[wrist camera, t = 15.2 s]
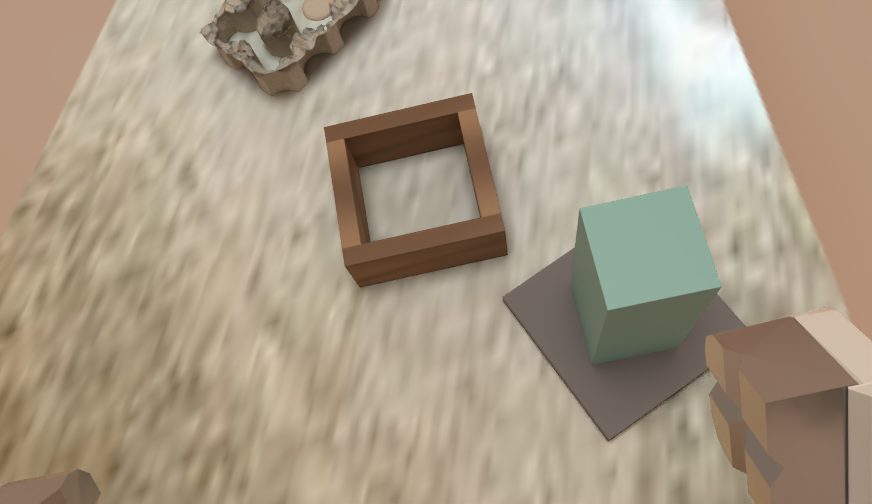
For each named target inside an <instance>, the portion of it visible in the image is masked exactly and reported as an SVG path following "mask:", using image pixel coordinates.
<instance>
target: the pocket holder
mask: <svg viewBox="0 0 872 504" xmlns="http://www.w3.org/2000/svg"><path fill="white" fill-rule="evenodd" d="M324 130H325V137H326V144H327V150H328V157H329V164H330V170H331V177H332V184H333V190H334V197H335V204H336V210H337V217H338V224H339V230H340V237H341V244H342V250H343V257H344V264H345V267H346V269H347V270H348V271H349V273H350V274H351V275H352V277H353V278H354V280H355V281H356V282H357V284H358V285H359V287H363V286H368V285H372V284H377V283H381V282H386V281H390V280H395V279H399V278H404V277H409V276H413V275H418V274H422V273H427V272H431V271H436V270H440V269H445V268H449V267H454V266H459V265H463V264H468V263H472V262H477V261H481V260H486V259H490V258H495V257H499V256H504V255H508V253H507V244H506V235H505V229H504V225H503V220H502V216H501V212H500V208H499V204H498V200H497V195H496V191H495V187H494V183H493V179H492V175H491V170H490V166H489V162H488V158H487V154H486V149H485V145H484V141H483V137H482V133H481V129H480V124H479V120H478V116H477V112H476V108H475V104H474V99H473V95H472V93H470V94H466V95H461V96H457V97H453V98H448V99H444V100H440V101H435V102H431V103H427V104H422V105H418V106H414V107H410V108H405V109H401V110H397V111H392V112H388V113H384V114H379V115H375V116H371V117H366V118H362V119H358V120H354V121H349V122H345V123H341V124H336V125H332V126H328V127H324ZM459 144H464V147H465V151H466V156H467V160H468V165H469V169H470V173H471V178H472V182H473V186H474V191H475V195H476V200H477V204H478V208H479V213H480V217H481V218H477V219H472V220H468V221H463V222H459V223H454V224H450V225H445V226H441V227H437V228H432V229H428V230H423V231H419V232H414V233H410V234H405V235H401V236H396V237H392V238H387V239H383V240H378V241H374V242H370V236H369V230H368V224H367V218H366V212H365V206H364V200H363V194H362V188H361V182H360V176H359V170H358V168H359V167H363V166H368V165H372V164H376V163H381V162H385V161H390V160H394V159H398V158H403V157H407V156H411V155H416V154H420V153H425V152H429V151H433V150H438V149H442V148H446V147H451V146H455V145H459Z"/></svg>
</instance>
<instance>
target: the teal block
mask: <svg viewBox="0 0 872 504" xmlns="http://www.w3.org/2000/svg"><path fill="white" fill-rule="evenodd" d="M721 287H722V286H721V283H720V280H719V277H718V274H717V271H716V268H715V265H714V262H713V260H712V257H711V254H710V251H709V248H708V245H707V242H706V239H705V236H704V233H703V230H702V227H701V224H700V221H699V218H698V215H697V212H696V209H695V207H694V204H693V201H692V198H691V195H690V192H689V189H688V186H687V185H686V186H681V187H677V188H672V189H667V190H663V191H658V192H654V193H649V194H644V195H640V196H635V197H630V198H626V199H621V200H617V201H612V202H607V203H603V204H598V205H593V206H589V207H584V208H580V210H579V218H578V226H577V235H576V243H575V251H574V260H573V268H572V277H571V289H572V293H573V297H574V300H575V304H576V308H577V312H578V316H579V320H580V323H581V327H582V331H583V335H584V339H585V343H586V347H587V350H588V354H589V358H590V362H591V365H596V364H601V363H606V362H611V361H616V360H621V359H626V358H631V357H635V356H640V355H645V354H650V353H655V352H660V351H665V350H670V349H674V348H678V347H679V345H680V344H681V342H682V341H683V340H684V338H685V337H686V335H687V334H688V333H689V331H690V330H691V329H692V327H693V326H694V324H695V323H696V322H697V320H698V319H699V317H700V316H701V315H702V313H703V312H704V310H705V309H706V308H707V306H708V305H709V304H710V302H711V301H712V299H713V298H714V297H715V295H716V294H717V292H718V291H719V290H720V288H721Z"/></svg>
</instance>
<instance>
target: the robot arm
mask: <svg viewBox="0 0 872 504" xmlns="http://www.w3.org/2000/svg"><path fill="white" fill-rule="evenodd" d="M705 354H706V365H707V366H708V368H709V369H710V371H711V372H712V374H713V375H714V377H715V378H716V380H717V383H716V384H715V386H714V387H713V389H712V391H711V392H710V394H709V397H710V405H711V412H712V418H713V422H714V426H715V429H716V433H717V437H718V439H719V442H720V444H721V446H722V448H723V451H724V453H725V455H726V456H727V458H728V460H729V461H730V463H731V465H732V467H734V468H736V469H738V470H740V471H742V472H744V473H746V474H747V485H748V493H749V495H750V496H751V498H752V499H753V501H754V503H755V504H872V341H871V340H869V338H867V337H866V336H865V335H864V334H863V333H861V331H859V330H858V329H857V328H856V327H855V326H854V325H852V324H851V323H850V322H849V321H848V320H847V319H846V318H844V317H843V316H842V315H841V314H840V313H839V312H838V311H836V310H835V309H832V308H829V307H823V308H819V309H815V310H811V311H807V312H803V313H799V314H795V315H791V316H787V317H786V318H781V319H777V320H773V321H769V322H764V323H760V324H756V325H752V326H747V327H743V328H739V329H735V330H730V331H726V332H722V333H718V334H713V335H709V336H706V343H705ZM100 494H101V492H100V491H99V489H98V487H97V485H96V484H95V482H94V480H93V478H92V477H91V475H90V473H87V472H85V471H82V470H79V469H76V470H71V471H65V472H60V473H55V474H50V475H45V476H39V477H34V478H29V479H24V480H18V481H13V482H8V483H6V484H0V504H98V501H99V497H100Z"/></svg>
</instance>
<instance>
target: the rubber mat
mask: <svg viewBox="0 0 872 504" xmlns="http://www.w3.org/2000/svg"><path fill="white" fill-rule="evenodd" d="M574 251H575V248H573V249H572V250H570V251H569V252H568V253H566V254H565V255H563V256H562V257H560V258H559V259H557V260H556V261H554V262H553V263H551V264H550V265H549V266H547V267H546V268H544V269H543V270H541V271H540V272H538V273H537V274H535V275H534V276H533V277H531V278H530V279H528V280H527V281H525V282H524V283H522V284H521V285H519V286H518V287H516V288H515V289H514V290H512V291H511V292H509V293H508V294H506V295H505V296H503V301H504V302H505V304H506V305H507V306H508V308H509V309H510V310H511V312H512V313H513V314H514V316H515V317H516V318H517V320H518V321H519V322H520V324H521V325H522V326H523V328H524V329H525V330H526V332H527V333H528V334H529V336H530V337H531V338H532V340H533V341H534V342H535V344H536V345H537V346H538V348H539V349H540V350H541V352H542V353H543V354H544V356H545V357H546V358H547V360H548V361H549V362H550V364H551V365H552V366H553V368H554V369H555V370H556V372H557V373H558V375H559V376H560V377H561V379H562V380H563V381H564V383H565V384H566V385H567V387H568V388H569V389H570V391H571V392H572V393H573V395H574V396H575V397H576V399H577V400H578V401H579V403H580V404H581V405H582V407H583V408H584V409H585V411H586V412H587V413H588V415H589V416H590V417H591V419H592V420H593V421H594V423H595V424H596V425H597V427H598V428H599V429H600V431H601V432H602V433H603V435H604V436H605V437H606V439H607V440H608V441H609V440H611V439H612V438H613V437H615V436H616V435H618V434H619V433H620V432H622V431H623V430H625V429H626V428H627V427H629V426H630V425H631V424H633V423H634V422H636V421H637V420H638V419H640V418H641V417H643V416H644V415H645V414H647V413H648V412H650V411H651V410H652V409H654V408H655V407H656V406H658V405H659V404H661V403H662V402H663V401H665V400H666V399H668V398H669V397H670V396H672V395H673V394H675V393H676V392H677V391H679V390H680V389H681V388H683V387H684V386H686V385H687V384H688V383H690V382H691V381H693V380H694V379H695V378H697V377H698V376H700V375H701V374H702V373H704V372H705V371H707V370H708V369H709V368H708V366H707V365H706V354H705V343H706V336H709V335H713V334H718V333H722V332H726V331H730V330H735V329H739V328H743V327H746V326H745V325H744V324H743V323H742V322H741V321H740V319H739V318H738V317H737V316H736V315H735V314H734V313H733V311H732V310H731V309H730V308H729V307H728V306H727V305H726V303H725V302H724V301H723V300H722V299H721V298H720V297H719V296H718V294H716V295H715V297H714V298H713V299H712V301H711V302H710V304H709V305H708V306H707V308H706V309H705V310H704V312H703V313H702V315H701V316H700V317H699V319H698V320H697V322H696V323H695V324H694V326H693V327H692V329H691V330H690V331H689V333H688V334H687V335H686V337H685V338H684V340H683V341H682V342H681V344H680V345H679V347H678V348H674V349H670V350H665V351H660V352H655V353H650V354H645V355H640V356H635V357H631V358H626V359H621V360H616V361H611V362H606V363H601V364H596V365H591V362H590V358H589V354H588V350H587V347H586V343H585V339H584V335H583V331H582V327H581V323H580V320H579V316H578V312H577V308H576V304H575V300H574V297H573V293H572V289H571V277H572V268H573V260H574Z"/></svg>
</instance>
